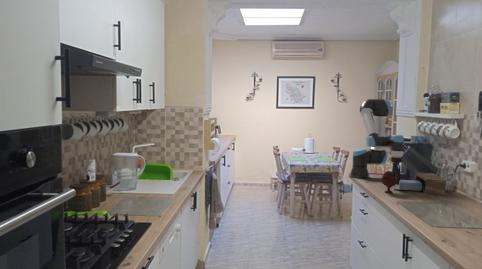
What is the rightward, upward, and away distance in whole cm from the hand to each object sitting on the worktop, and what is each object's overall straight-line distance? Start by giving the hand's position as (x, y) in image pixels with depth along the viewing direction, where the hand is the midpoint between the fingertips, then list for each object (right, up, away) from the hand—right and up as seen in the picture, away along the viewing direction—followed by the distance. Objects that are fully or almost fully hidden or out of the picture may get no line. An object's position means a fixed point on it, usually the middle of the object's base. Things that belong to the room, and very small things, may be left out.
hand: (395, 187), depth 267 cm
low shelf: (+21, -1, -4) cm, 21 cm away
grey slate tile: (+7, 0, -1) cm, 7 cm away
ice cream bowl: (-10, -2, -13) cm, 17 cm away
